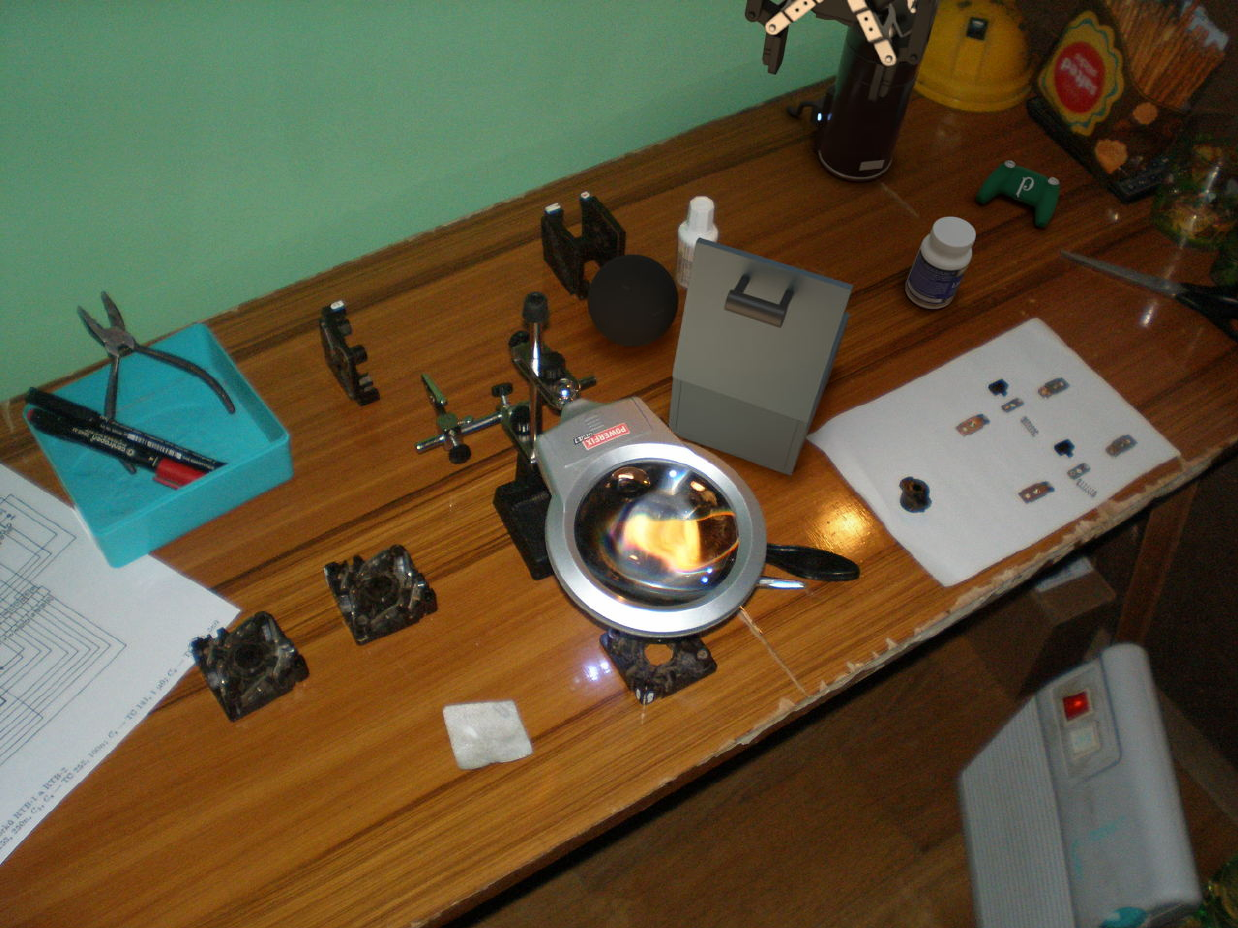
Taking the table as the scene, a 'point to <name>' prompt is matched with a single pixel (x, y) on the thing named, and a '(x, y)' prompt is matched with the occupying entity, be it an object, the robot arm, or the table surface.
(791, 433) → the grey box
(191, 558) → the table surface
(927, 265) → the pill bottle
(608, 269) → the black ball
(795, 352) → the lid
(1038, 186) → the gaming controller
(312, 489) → the table surface
